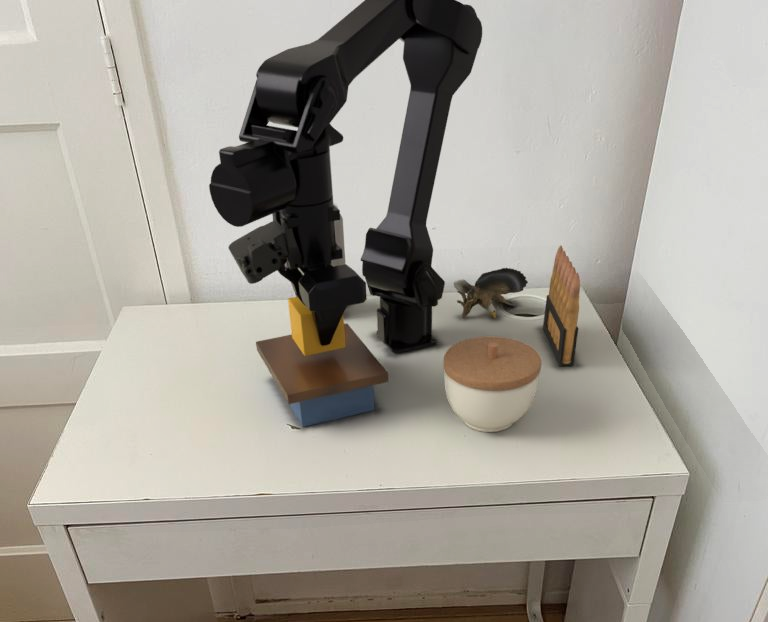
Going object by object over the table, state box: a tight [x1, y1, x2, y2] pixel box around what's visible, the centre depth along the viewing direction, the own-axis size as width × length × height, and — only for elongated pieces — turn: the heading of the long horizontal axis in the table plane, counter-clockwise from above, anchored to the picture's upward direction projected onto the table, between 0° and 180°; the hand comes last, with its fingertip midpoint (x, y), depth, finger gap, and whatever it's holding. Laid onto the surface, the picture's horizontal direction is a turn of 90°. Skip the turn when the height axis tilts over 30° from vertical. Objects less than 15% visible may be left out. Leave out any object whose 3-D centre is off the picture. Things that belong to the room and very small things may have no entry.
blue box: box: [288, 385, 375, 428], centre depth 95 cm, size 9×12×4 cm
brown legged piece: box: [453, 267, 529, 319], centre depth 111 cm, size 8×7×9 cm
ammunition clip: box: [542, 245, 581, 367], centre depth 100 cm, size 11×2×12 cm, turn 3°
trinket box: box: [442, 336, 542, 433], centre depth 88 cm, size 11×11×9 cm
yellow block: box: [287, 296, 345, 356], centre depth 90 cm, size 5×5×5 cm
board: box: [255, 323, 389, 405], centre depth 93 cm, size 12×14×1 cm
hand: (317, 334), depth 91 cm, fingers closed on yellow block, 5 cm apart
